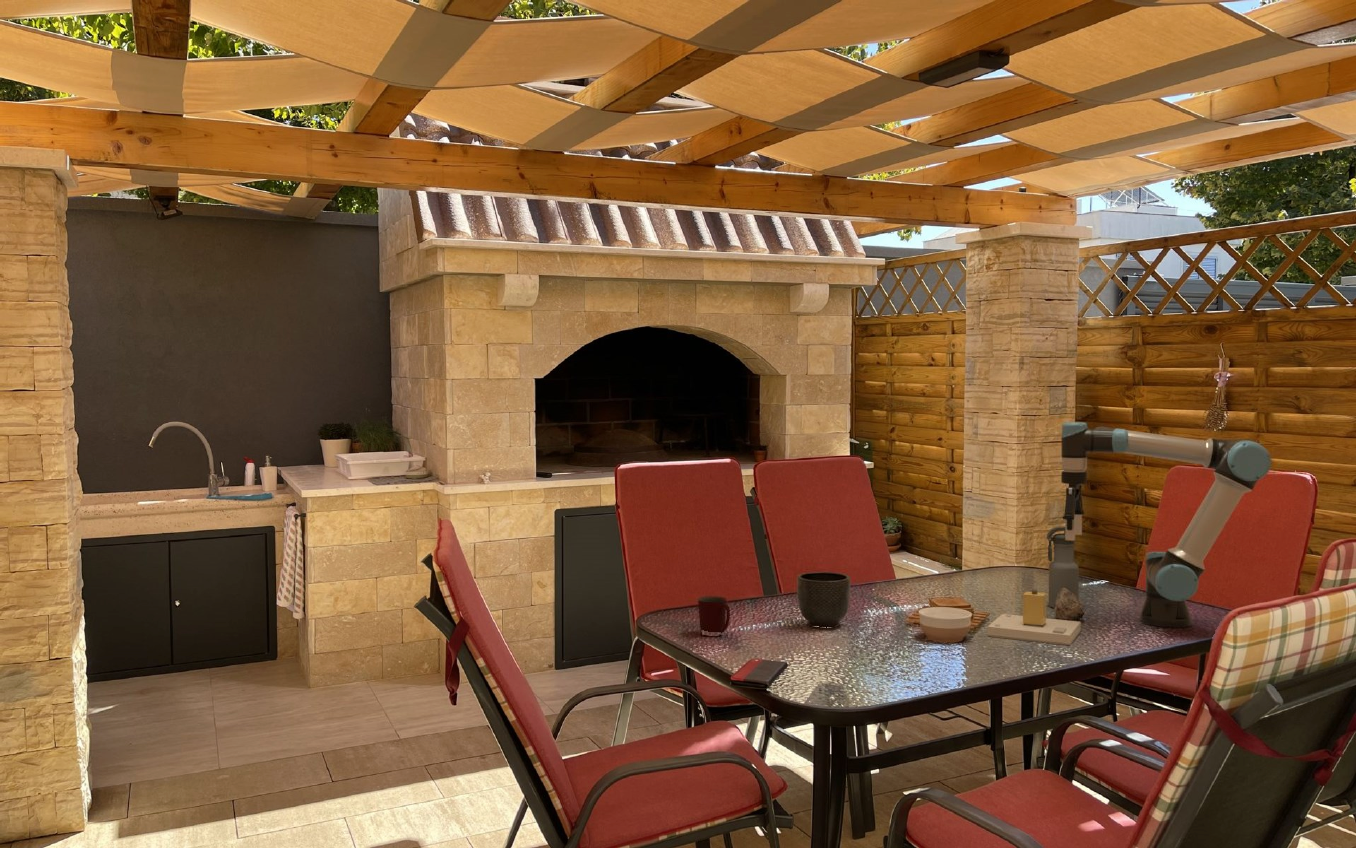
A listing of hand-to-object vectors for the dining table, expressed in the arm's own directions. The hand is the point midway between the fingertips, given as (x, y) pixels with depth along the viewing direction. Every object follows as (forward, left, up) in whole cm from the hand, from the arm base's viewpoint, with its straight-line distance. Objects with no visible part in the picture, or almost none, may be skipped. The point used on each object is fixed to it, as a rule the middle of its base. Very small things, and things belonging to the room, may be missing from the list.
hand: (1073, 537), depth 326 cm
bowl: (+32, +33, -29) cm, 54 cm away
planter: (+71, +35, -29) cm, 84 cm away
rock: (+4, -10, -29) cm, 31 cm away
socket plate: (+9, +15, -29) cm, 34 cm away
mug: (+96, +63, -29) cm, 118 cm away
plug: (+9, +15, -28) cm, 33 cm away
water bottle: (+8, -29, -29) cm, 42 cm away
